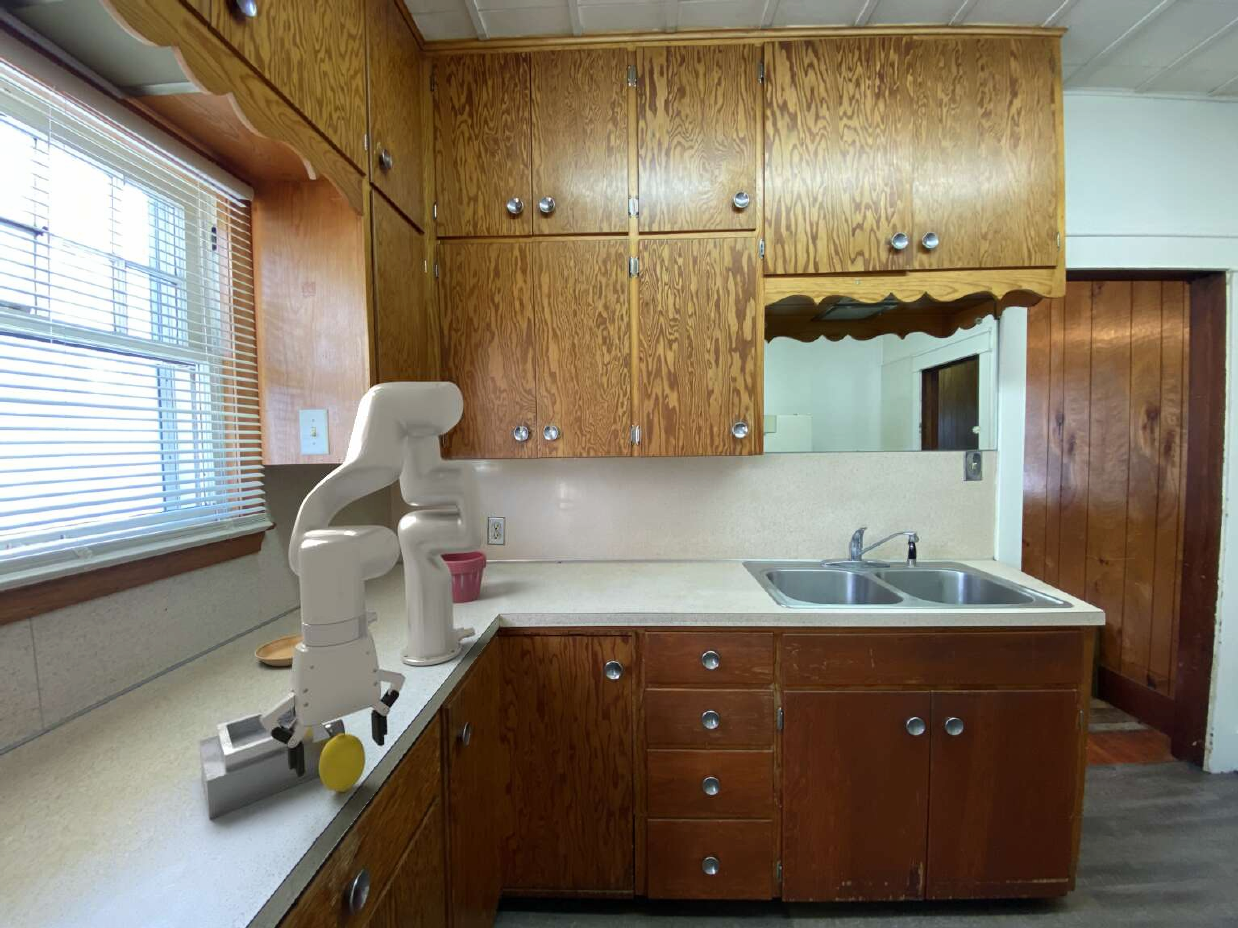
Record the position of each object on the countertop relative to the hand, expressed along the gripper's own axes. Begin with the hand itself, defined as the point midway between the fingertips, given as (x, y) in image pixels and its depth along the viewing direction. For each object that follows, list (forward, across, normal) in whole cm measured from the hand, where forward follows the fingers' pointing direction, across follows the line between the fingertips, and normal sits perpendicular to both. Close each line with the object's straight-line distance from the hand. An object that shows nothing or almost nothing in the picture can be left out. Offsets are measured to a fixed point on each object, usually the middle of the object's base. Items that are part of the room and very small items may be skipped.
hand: (340, 755), depth 71 cm
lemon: (+5, 0, 0) cm, 5 cm away
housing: (+5, +5, -12) cm, 14 cm away
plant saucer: (+5, -5, -58) cm, 58 cm away
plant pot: (+4, -50, -70) cm, 86 cm away
